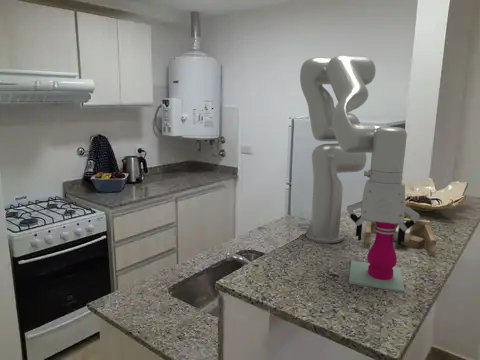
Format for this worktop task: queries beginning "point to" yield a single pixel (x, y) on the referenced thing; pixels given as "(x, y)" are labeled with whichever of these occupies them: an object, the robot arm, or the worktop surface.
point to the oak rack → (419, 230)
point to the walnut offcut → (413, 242)
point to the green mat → (363, 278)
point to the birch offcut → (407, 233)
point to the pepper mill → (382, 252)
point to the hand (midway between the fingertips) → (378, 241)
